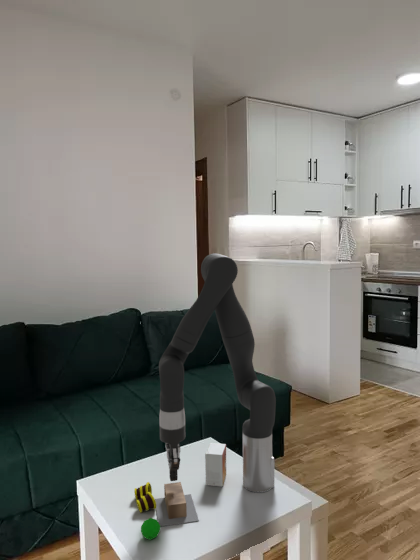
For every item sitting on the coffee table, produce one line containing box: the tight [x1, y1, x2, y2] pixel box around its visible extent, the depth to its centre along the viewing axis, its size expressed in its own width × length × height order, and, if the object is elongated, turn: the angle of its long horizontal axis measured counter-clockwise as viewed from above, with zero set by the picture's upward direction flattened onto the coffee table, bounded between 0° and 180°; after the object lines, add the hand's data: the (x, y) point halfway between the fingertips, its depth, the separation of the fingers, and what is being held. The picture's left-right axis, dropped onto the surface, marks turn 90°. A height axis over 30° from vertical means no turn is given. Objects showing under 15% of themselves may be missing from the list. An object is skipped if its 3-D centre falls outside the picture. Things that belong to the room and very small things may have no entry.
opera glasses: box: [134, 482, 156, 514], centre depth 130 cm, size 10×5×5 cm, turn 16°
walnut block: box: [163, 481, 187, 519], centre depth 128 cm, size 5×4×11 cm
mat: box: [154, 493, 200, 528], centre depth 127 cm, size 11×13×1 cm
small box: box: [204, 442, 227, 487], centre depth 142 cm, size 8×6×10 cm
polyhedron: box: [140, 517, 161, 540], centre depth 115 cm, size 5×5×5 cm
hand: (173, 479), depth 130 cm, fingers closed
